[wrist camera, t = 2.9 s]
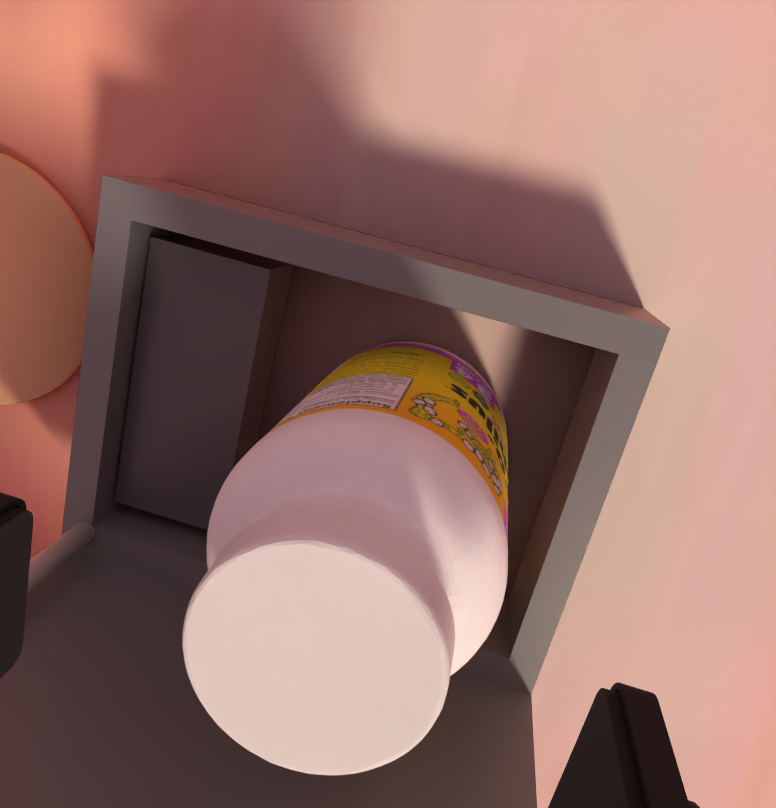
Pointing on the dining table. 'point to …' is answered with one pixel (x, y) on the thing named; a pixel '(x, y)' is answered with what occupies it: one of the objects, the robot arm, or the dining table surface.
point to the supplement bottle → (354, 563)
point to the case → (201, 483)
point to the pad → (39, 284)
